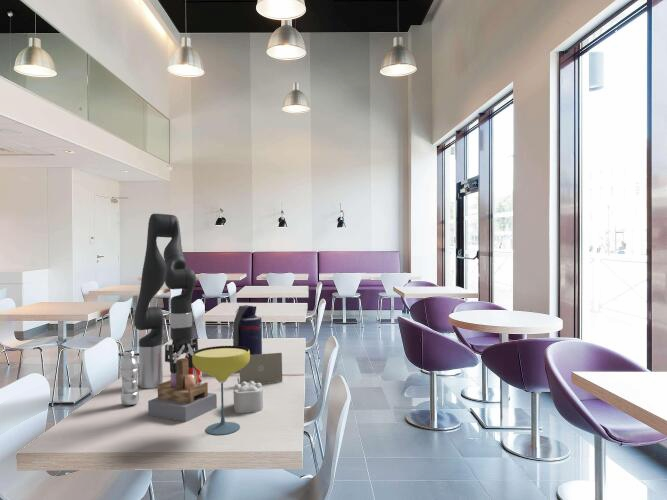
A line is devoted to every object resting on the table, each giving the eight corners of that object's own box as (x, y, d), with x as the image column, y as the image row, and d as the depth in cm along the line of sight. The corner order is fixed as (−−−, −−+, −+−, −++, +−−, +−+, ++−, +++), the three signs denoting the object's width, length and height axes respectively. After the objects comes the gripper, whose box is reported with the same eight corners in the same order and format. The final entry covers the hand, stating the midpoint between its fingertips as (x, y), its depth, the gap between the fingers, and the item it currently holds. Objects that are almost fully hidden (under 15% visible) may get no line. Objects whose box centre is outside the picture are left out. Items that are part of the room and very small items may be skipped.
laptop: (278, 375, 227) (277, 347, 227) (282, 383, 215) (282, 352, 215) (237, 379, 222) (237, 349, 222) (239, 386, 210) (239, 355, 210)
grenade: (253, 363, 249) (252, 303, 248) (267, 368, 240) (266, 305, 239) (228, 369, 239) (227, 306, 239) (242, 373, 231) (241, 308, 230)
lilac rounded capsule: (168, 387, 180) (168, 374, 180) (175, 384, 183) (175, 372, 183) (176, 388, 178) (176, 375, 178) (182, 385, 181) (182, 373, 181)
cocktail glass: (254, 435, 155) (253, 354, 155) (194, 443, 150) (192, 359, 150) (247, 416, 173) (246, 343, 172) (193, 422, 167) (191, 347, 167)
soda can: (181, 385, 212) (180, 354, 212) (192, 381, 219) (191, 351, 219) (195, 387, 210) (194, 356, 210) (205, 382, 216) (205, 352, 216)
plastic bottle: (121, 408, 183) (120, 354, 183) (120, 403, 189) (119, 350, 189) (140, 405, 186) (139, 351, 186) (138, 400, 192) (137, 348, 192)
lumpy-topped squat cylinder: (233, 413, 176) (233, 389, 176) (234, 402, 188) (233, 379, 188) (263, 411, 178) (263, 387, 177) (262, 400, 190) (261, 377, 190)
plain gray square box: (148, 415, 176) (148, 400, 176) (181, 401, 190) (180, 388, 190) (185, 421, 168) (185, 407, 168) (216, 407, 183) (216, 393, 182)
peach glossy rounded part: (182, 389, 177) (182, 376, 177) (189, 386, 180) (189, 374, 180) (189, 390, 175) (189, 377, 175) (196, 387, 178) (196, 375, 178)
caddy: (157, 398, 178) (156, 360, 178) (175, 391, 186) (175, 355, 186) (190, 403, 172) (189, 364, 172) (207, 396, 180) (207, 358, 180)
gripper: (187, 321, 187) (188, 365, 187) (158, 327, 174) (159, 374, 174) (203, 322, 183) (204, 367, 184) (175, 329, 171) (176, 376, 171)
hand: (182, 370), depth 179 cm, fingers open, 8 cm apart
